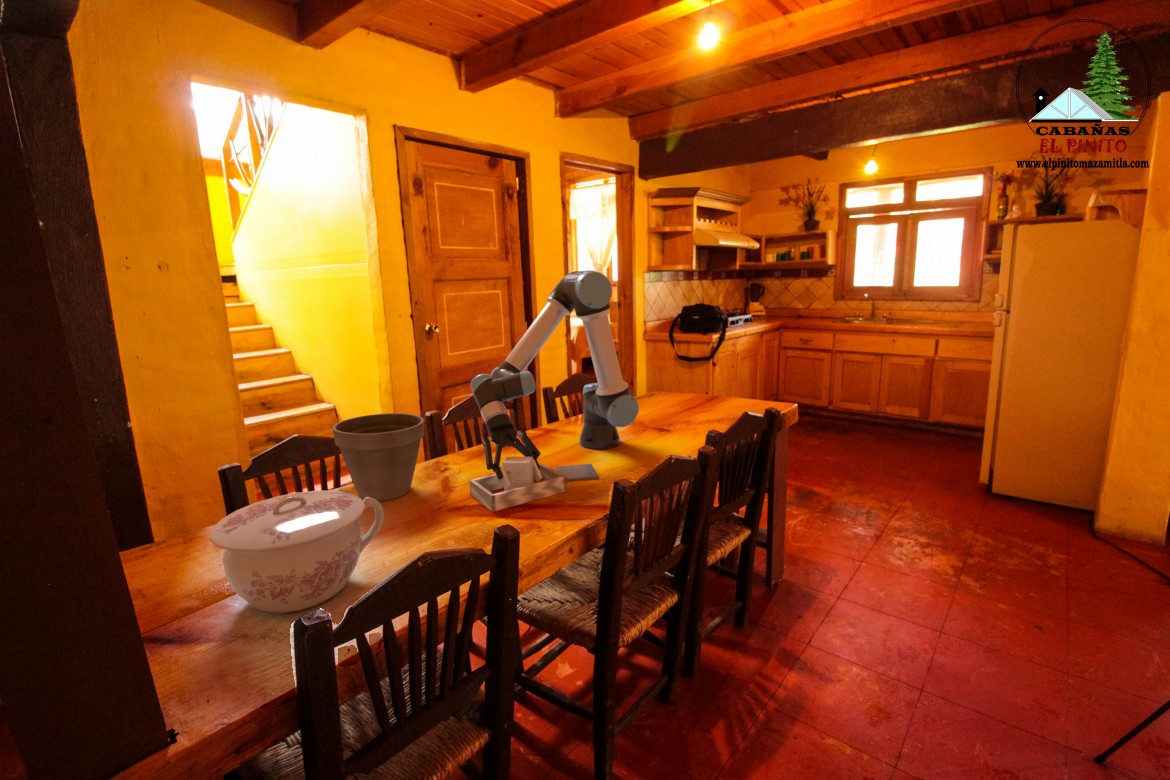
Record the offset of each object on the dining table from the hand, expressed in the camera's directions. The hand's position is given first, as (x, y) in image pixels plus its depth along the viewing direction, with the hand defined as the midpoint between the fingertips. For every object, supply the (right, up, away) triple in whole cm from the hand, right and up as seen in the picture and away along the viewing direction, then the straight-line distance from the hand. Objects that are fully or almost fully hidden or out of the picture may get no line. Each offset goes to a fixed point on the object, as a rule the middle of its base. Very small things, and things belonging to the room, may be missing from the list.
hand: (524, 483), depth 159 cm
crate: (-2, -3, +3) cm, 5 cm away
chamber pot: (-40, -15, -46) cm, 63 cm away
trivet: (+15, 0, +19) cm, 24 cm away
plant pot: (-42, -4, +7) cm, 43 cm away
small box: (-2, -4, +3) cm, 5 cm away
